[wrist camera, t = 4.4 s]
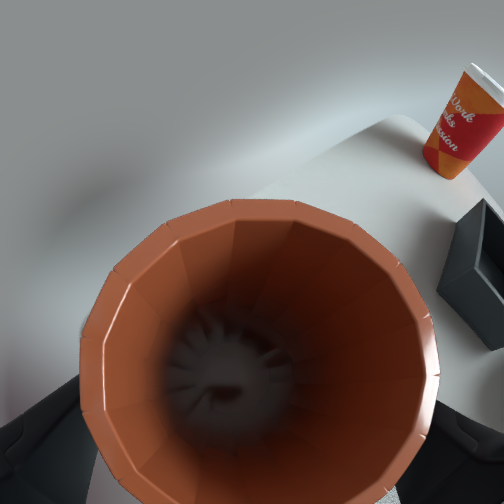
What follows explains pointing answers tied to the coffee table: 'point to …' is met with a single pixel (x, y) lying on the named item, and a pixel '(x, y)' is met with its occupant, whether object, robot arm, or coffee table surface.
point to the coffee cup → (466, 123)
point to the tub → (477, 273)
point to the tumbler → (259, 361)
